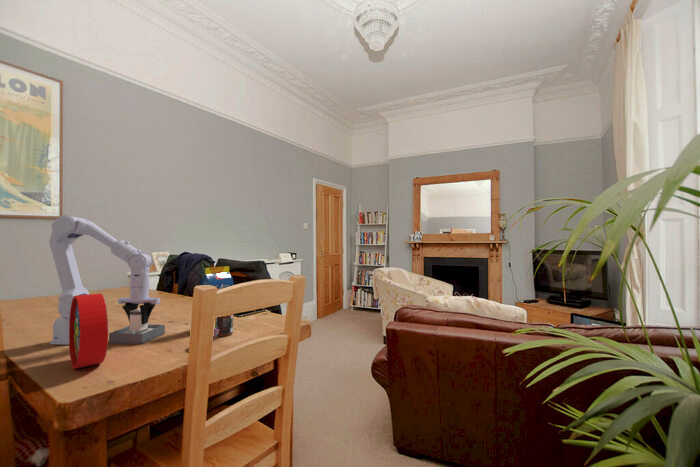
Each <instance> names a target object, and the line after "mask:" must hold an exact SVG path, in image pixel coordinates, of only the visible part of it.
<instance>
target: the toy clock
mask: <svg viewBox="0 0 700 467" xmlns="http://www.w3.org/2000/svg"><path fill="white" fill-rule="evenodd" d="M105 298H106V297H105V296H104V294H103V293H101V292H100V293H91V294H90V293H89V295H78V296H74V297H73V299H72V303H71V309H70V320H69V345H68V346H69V347H68V348H69V357H70V363H71V366H72V369H73V370H76V369H81V368H85V367H90V366H95V365H98V364H102V363H103V362H104V361H105V358H106V356H107V351H108V344H109V317H108V316H109V315H108V307H107V302H106V299H105Z"/></svg>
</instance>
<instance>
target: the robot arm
mask: <svg viewBox="0 0 700 467" xmlns="http://www.w3.org/2000/svg"><path fill="white" fill-rule="evenodd" d="M50 226H51V228H52V231H51V233H50V237H49V241H48V242H49V246H50V247H49V248H50V250H51V254H52V257H53V258H52V259H53V261H54V265H55V269H56V272H57V275H58V276H57V277H58V279H59V283H60V288H61V293H60V295H59V297H58V298H57V300H58V305H57V311H58V312H57V313H58V314H59V315H60V316H59V317H58V318H56V319H55V320H54V322H53V324H52V341H51V342H49V345H63V346H64V345H65V346H66V345H67V346H69V320H70V309H71V303H72V299H73V297H74V296H78V295H89V294H90V293H89V290H88V289H87V288H86V287H84V286H83V283H82V280H81V276H80V272H79V267H78V264H77V261H76V256H75V252H74V249H73V243H74V242H75V241H76V240H77V239H79V238H80V237H82V236H84V235H86V236H90V237H91V238H93V239H95V240H96V241H98V242H100V243H101V244H103V245H105V246H107V247H108V248H110V249H109V250H110V253H111V254H113V255H114V256H116V257H117V258H118V259H120V260H122V261H124V262H125V263H126V264H127V266H128V267H129V269H130V282H129V283H130V285H129V286H130V287H129V288H130V289H129V297H119V298H118V300H117V304H119V305H121V304H124V305H122V307H121V308H122V309H123V310H124V312H125V314H126V315H127V319H128V322H129V324H130V311H131V310H135V309H140V310H141V315H142V324H146V323H148V324H149V318H150V316H151V314H152V311H153V310H154V308H155V306H156V305H159V304H161V298H160V297H150V267H151V265H152V264H153V258H152V256H151V255H149V253H147V252H142V250H141V249H137V248H136V247H135V246H134V245H132V244H131V242H130V241H128V240H126V241H125V240H123V239H121V240H118V239H116V238H115V237H113V236H112V235H111V234H109V233H108V232H106V231H105V230H104V229H102V228H101V227H100V226H99V225H97V224H96V223H95V222H93V221H91V220H89V219H87V218H85V217H82V216H80V217H79V216H71V215H65V214H64V215H60V216H58V217H57V218H56V219H54V221H52V223H51V224H50ZM138 307H139V308H138Z"/></svg>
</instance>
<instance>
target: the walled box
mask: <svg viewBox="0 0 700 467" xmlns="http://www.w3.org/2000/svg"><path fill="white" fill-rule="evenodd" d="M129 327H130V325H128V326H125V327H123V328H119V329H117V330H114V331H111V332H108V344H121V345H122V344H125V345H126V344H127V345H143V344H146V343H148V342H150V341H152V340H154V338H155V339H156V337H157V338H159V337H160V336H161V337H162V336H163V335H165V333H166V331H165V330H166V329H165V328H166V325H165V324H155V323H154V324H153V323H152V324H149V323H148V328H146V329H143V330H141V331H131V330H129ZM158 336H159V337H158Z"/></svg>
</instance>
